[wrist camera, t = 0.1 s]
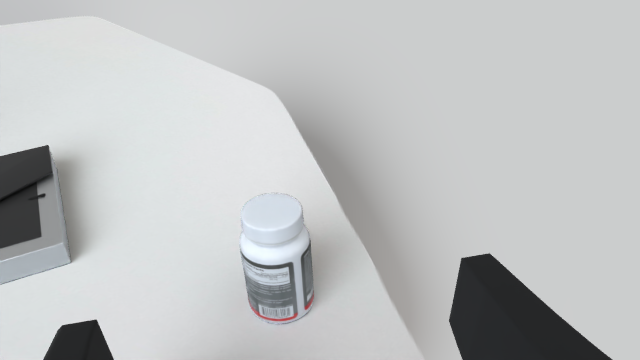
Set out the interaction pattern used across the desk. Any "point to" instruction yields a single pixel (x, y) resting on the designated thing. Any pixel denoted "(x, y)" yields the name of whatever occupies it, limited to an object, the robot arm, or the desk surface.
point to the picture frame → (30, 215)
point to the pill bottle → (276, 258)
